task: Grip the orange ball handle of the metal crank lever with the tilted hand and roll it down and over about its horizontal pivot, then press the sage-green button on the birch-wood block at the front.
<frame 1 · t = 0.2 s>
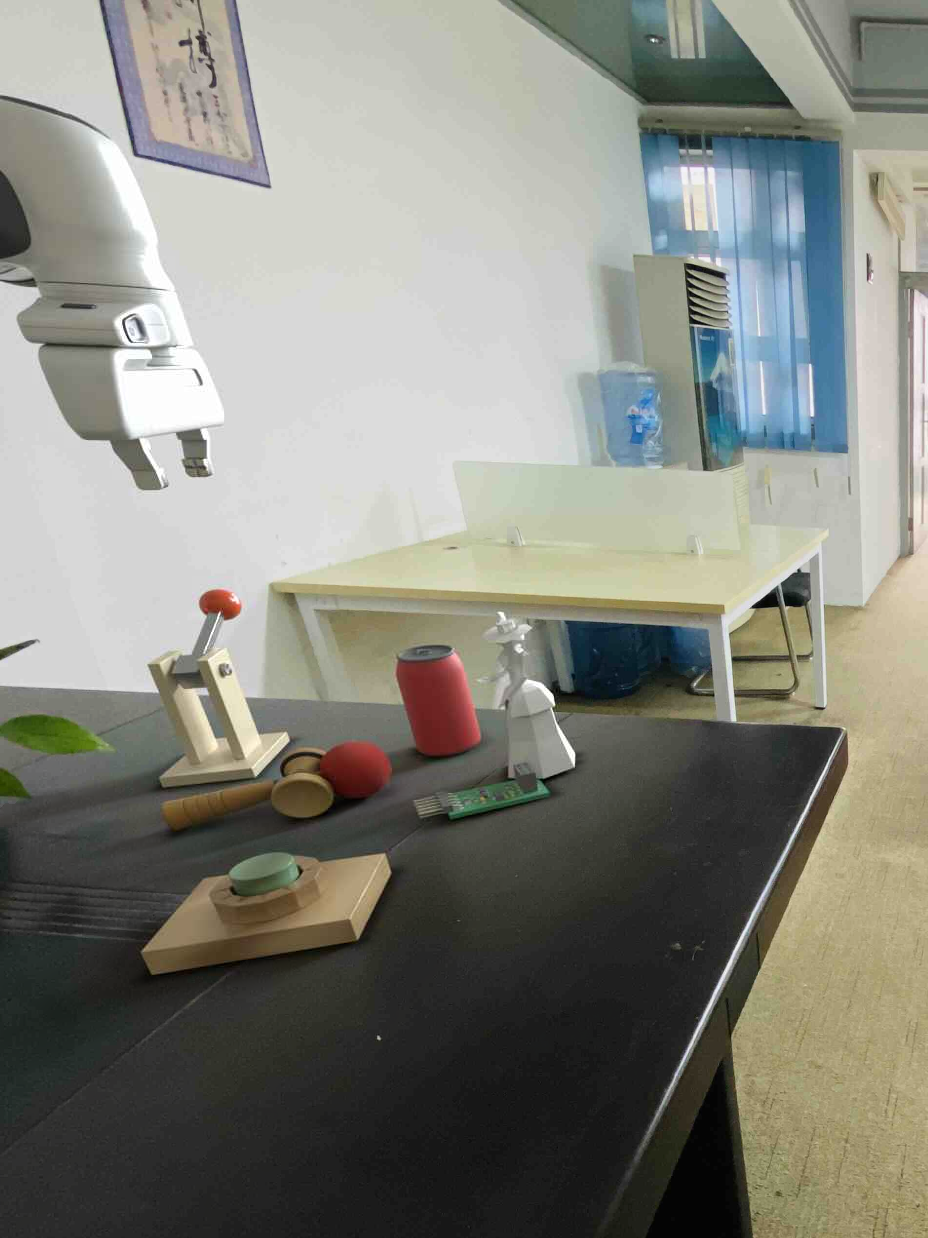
hand: (179, 482, 79), 31 cm above the table, tool pointing down, fingers open, 8 cm apart
lever: (208, 635, 90), point 13 cm above the table, hinge at 25.0°
kendama: (291, 810, 83), on the table
circuit board: (484, 805, 85), on the table
button block: (283, 919, 67), on the table
button: (265, 874, 65), point 4 cm above the table, slide at 0.1 cm
figurine: (543, 767, 92), on the table
bracket: (230, 762, 91), on the table
beer can: (451, 748, 97), on the table
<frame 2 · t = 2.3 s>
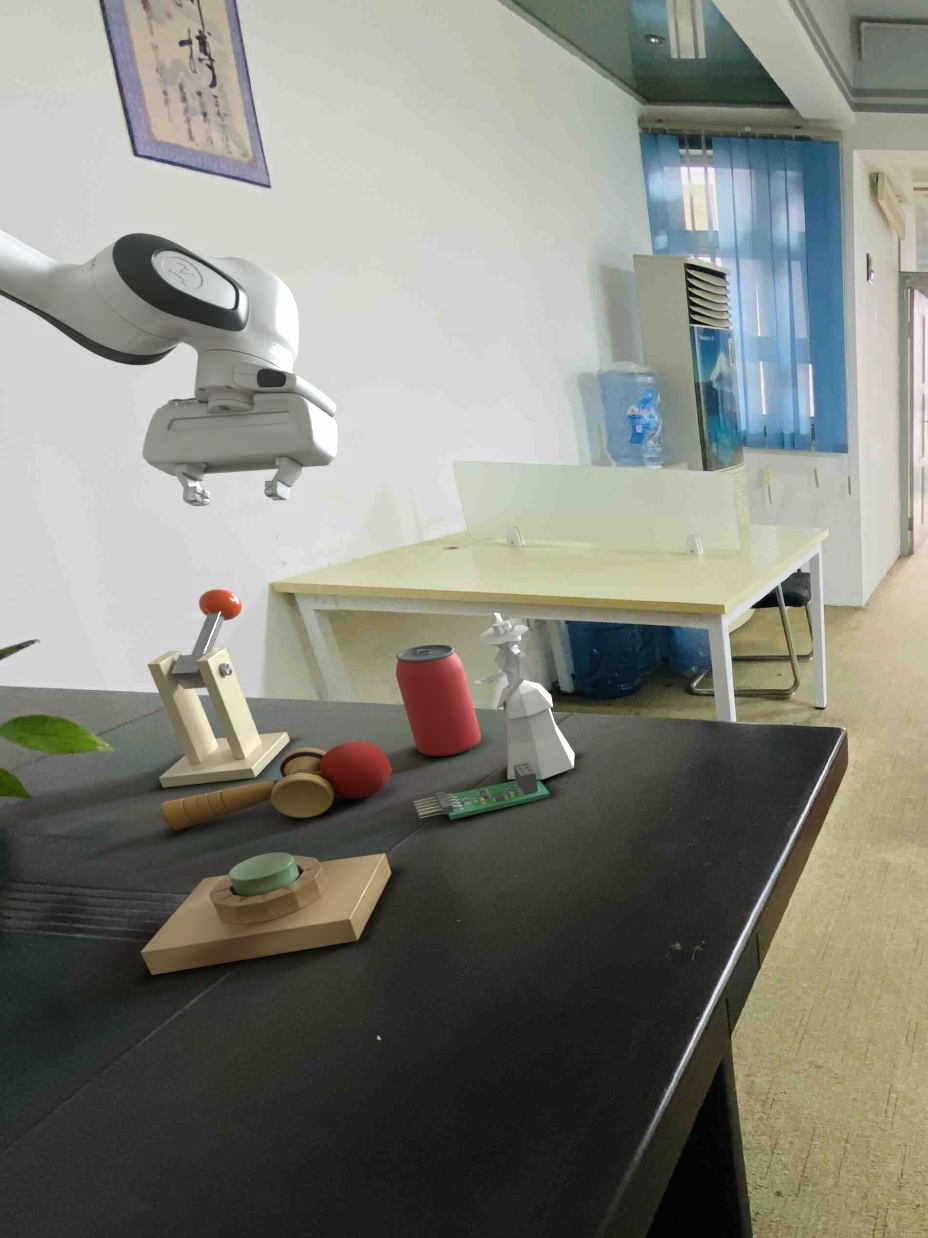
hand: (236, 501, 95), 26 cm above the table, tool tilted 35°, fingers open, 8 cm apart
nothing on the table moved.
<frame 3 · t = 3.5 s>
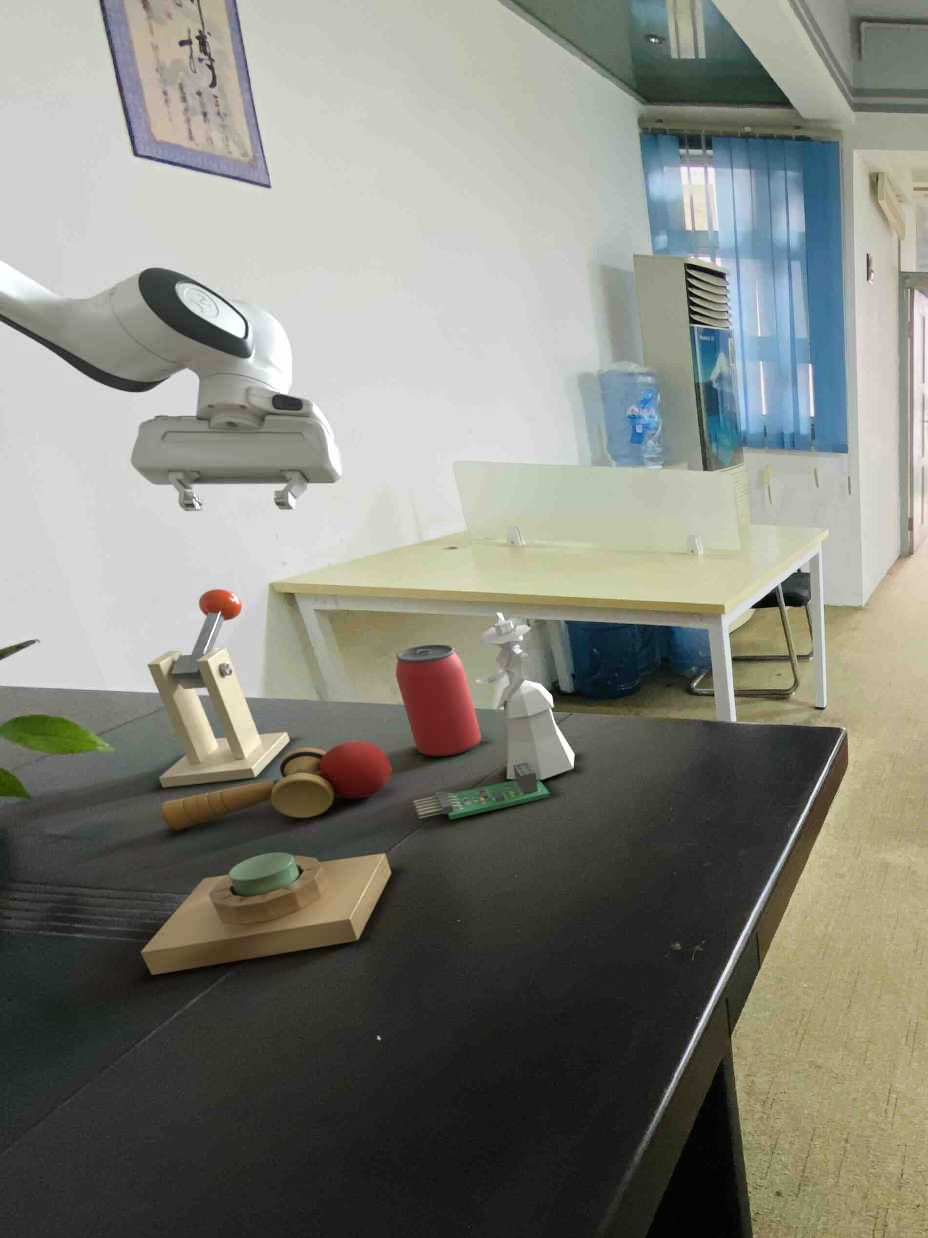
hand: (238, 507, 99), 25 cm above the table, tool tilted 45°, fingers open, 8 cm apart
nothing on the table moved.
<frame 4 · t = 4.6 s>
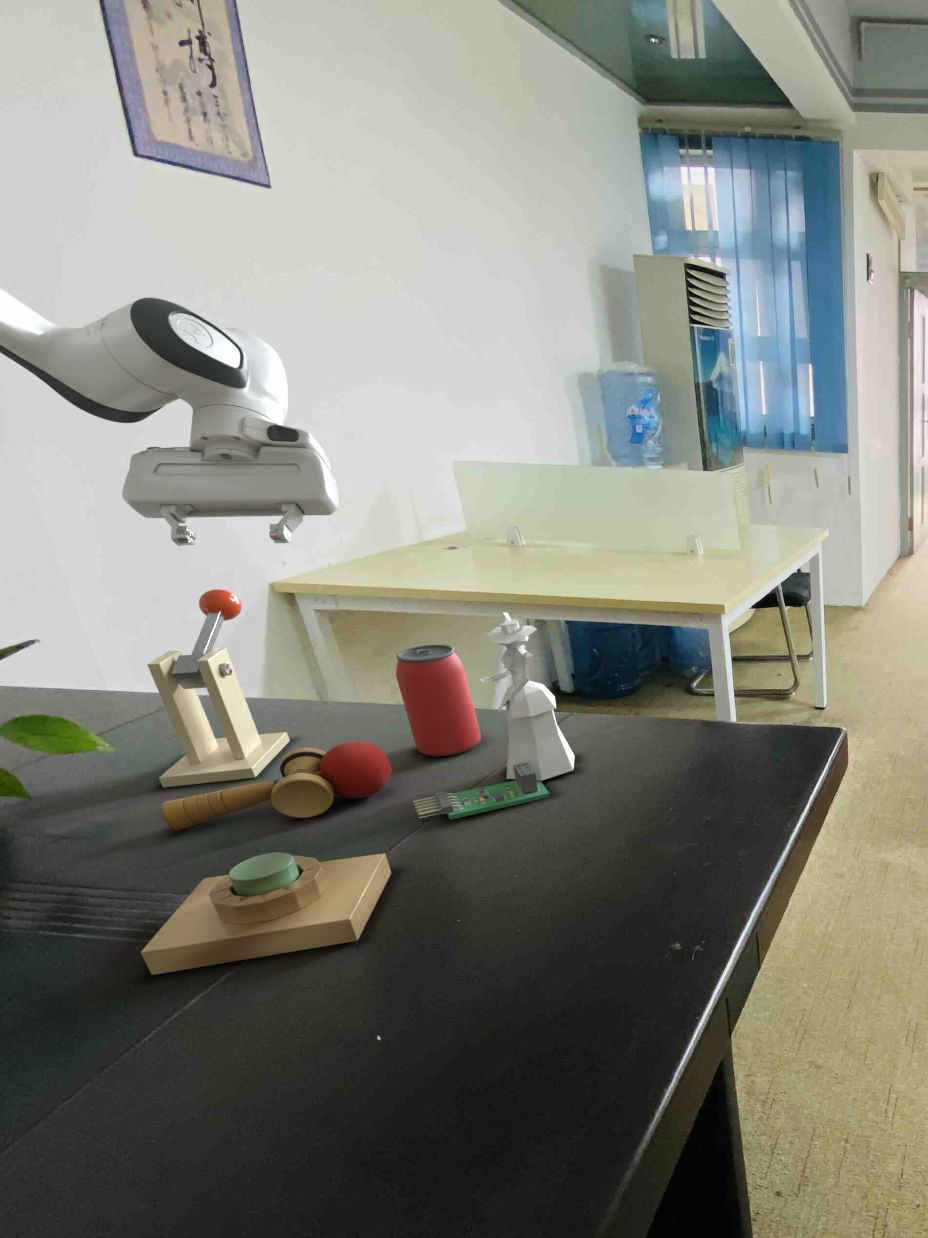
hand: (232, 541, 97), 21 cm above the table, tool tilted 45°, fingers open, 8 cm apart
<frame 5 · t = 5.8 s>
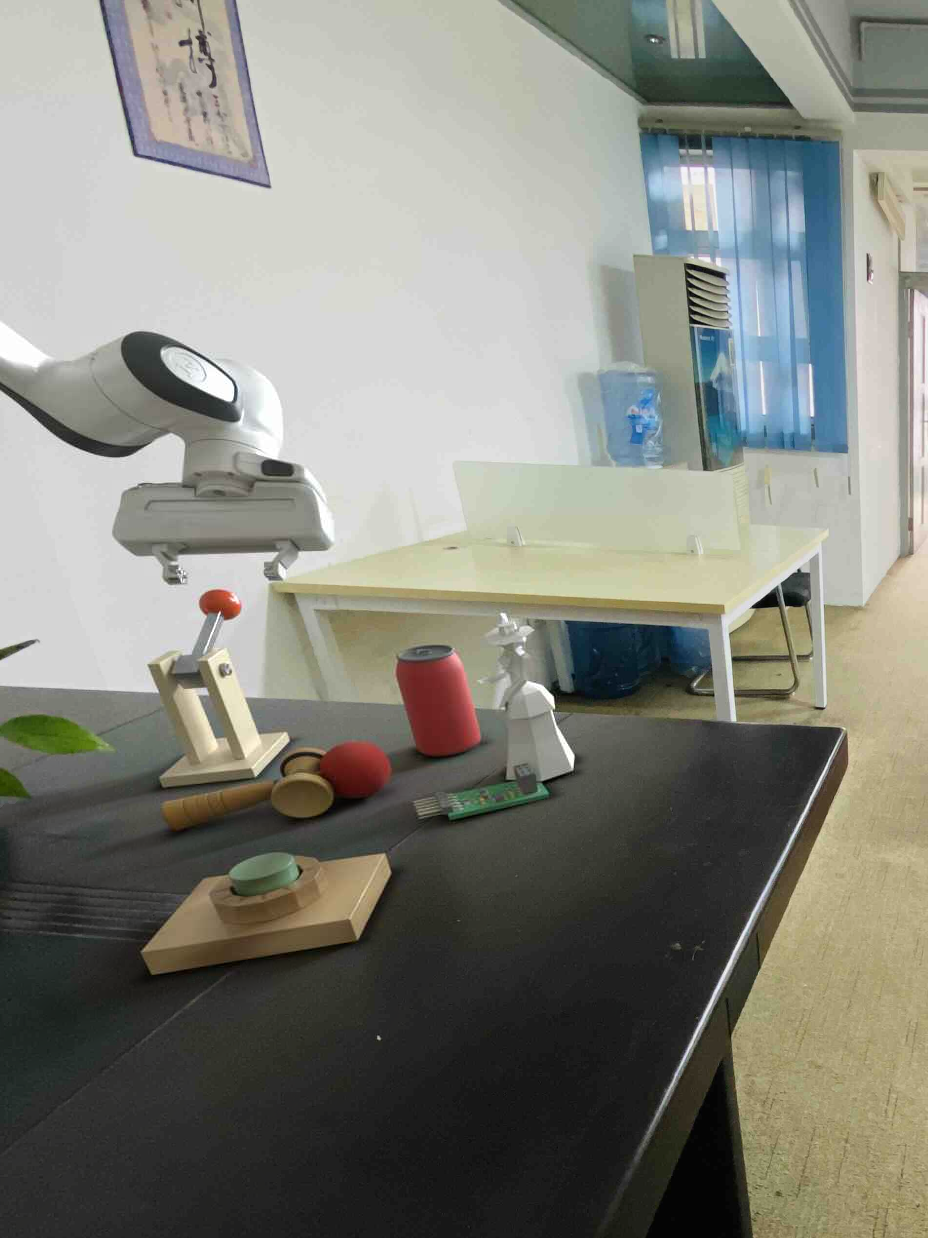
hand: (225, 580, 95), 18 cm above the table, tool tilted 45°, fingers open, 8 cm apart
figurine: (542, 770, 92), on the table
everything else where it was.
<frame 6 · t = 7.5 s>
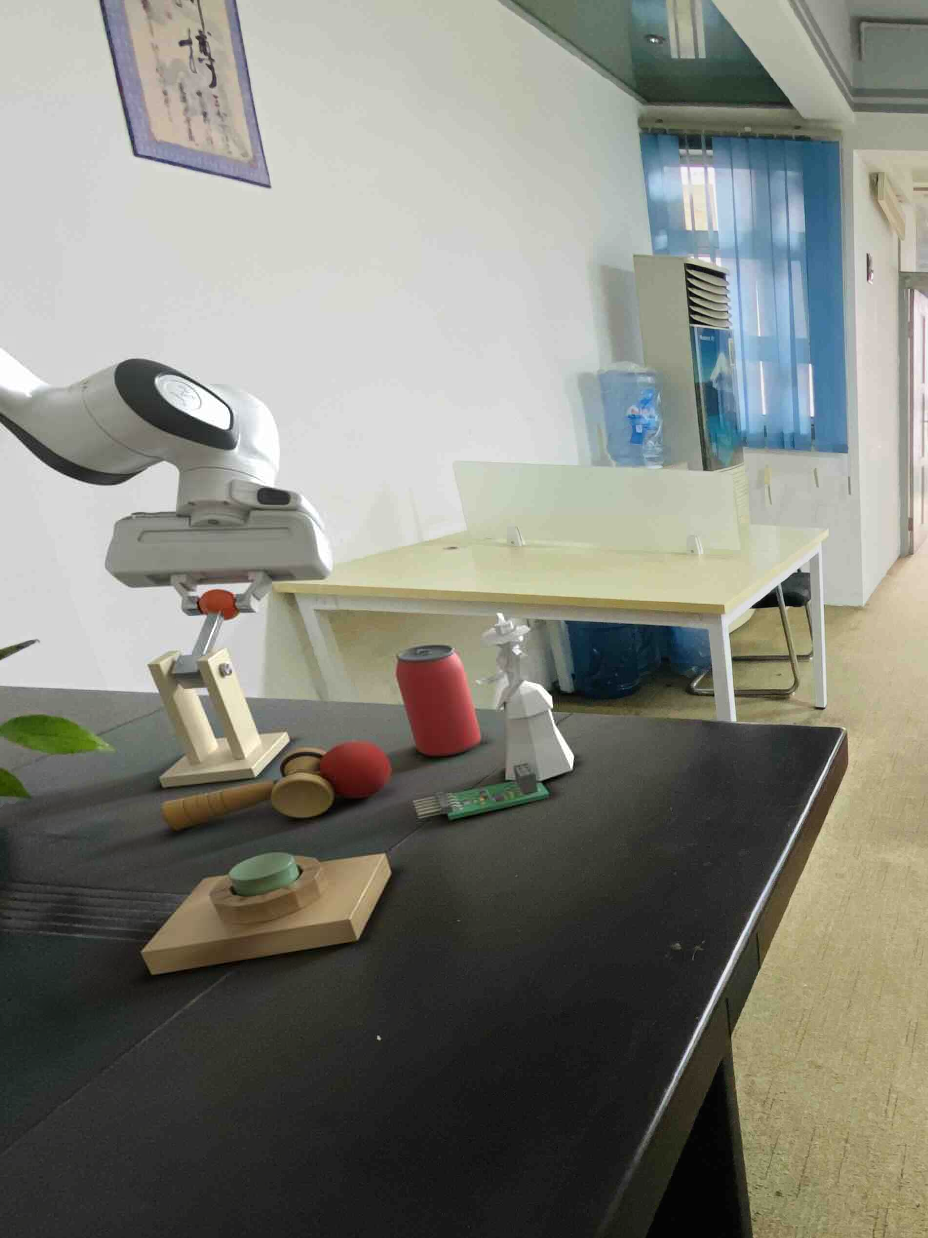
hand: (220, 612, 93), 15 cm above the table, tool tilted 45°, fingers closed on lever, 3 cm apart
lever: (208, 635, 90), point 13 cm above the table, hinge at 25.0°, touching gripper
figurine: (541, 770, 92), on the table
everything else where it was.
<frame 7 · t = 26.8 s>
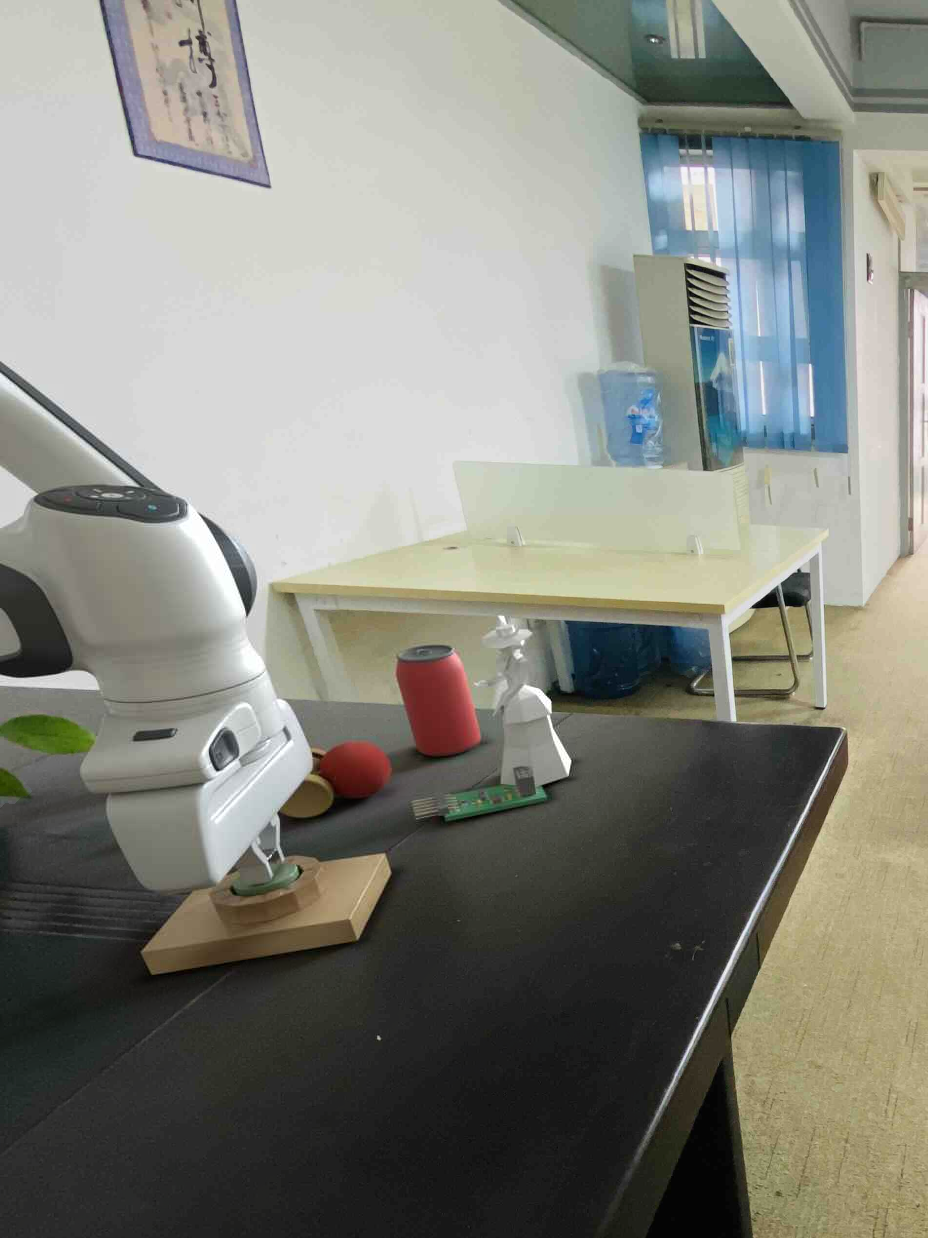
hand: (266, 874, 65), 4 cm above the table, tool pointing down, fingers closed, pressing on button
lever: (224, 681, 92), point 8 cm above the table, hinge at -30.5°
circuit board: (482, 807, 85), on the table, touching figurine
button: (268, 883, 65), point 4 cm above the table, slide at -0.8 cm, touching gripper
figurine: (537, 774, 91), on the table, touching circuit board
everything else where it was.
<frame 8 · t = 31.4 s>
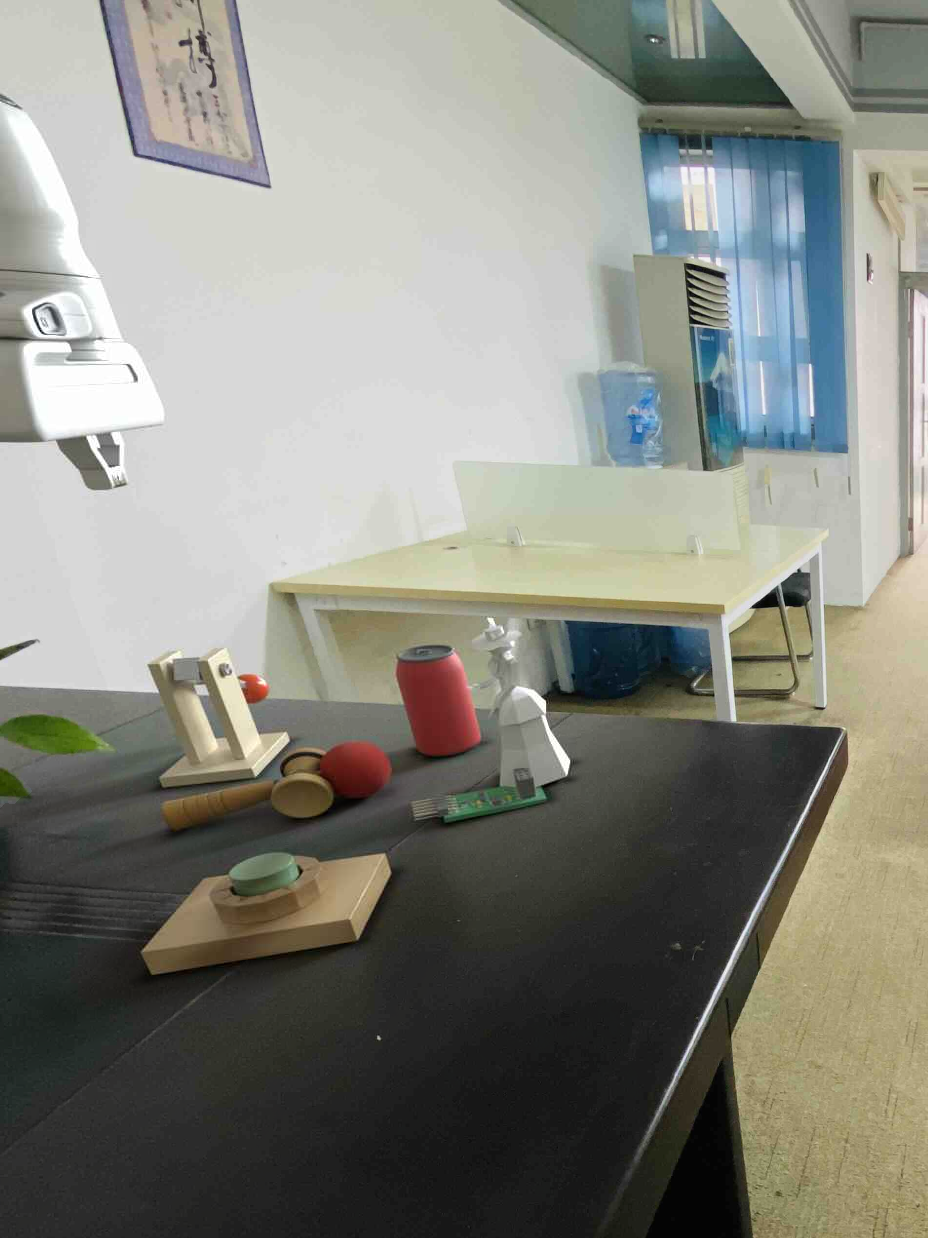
hand: (109, 487, 72), 31 cm above the table, tool pointing down, fingers closed
button: (265, 874, 65), point 4 cm above the table, slide at 0.1 cm
figurine: (537, 776, 91), on the table, touching circuit board
everything else where it was.
at the end: lever at -30° (first picture: +25°); button pushed in 1.0 cm at the most during the clip, back to where it started at the end; button slide at 0.1 cm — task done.
